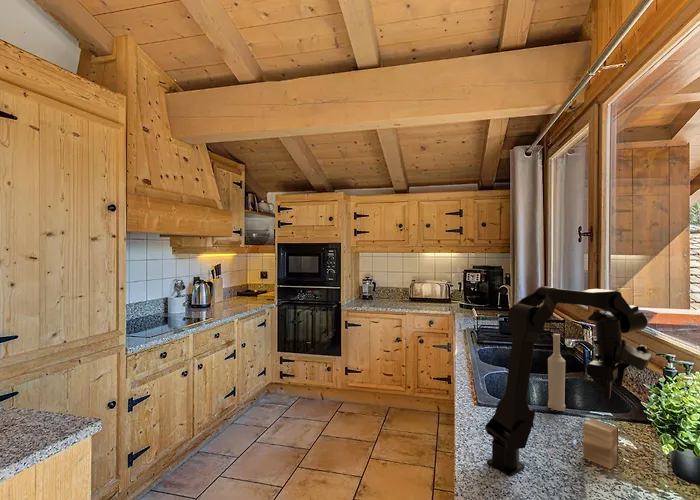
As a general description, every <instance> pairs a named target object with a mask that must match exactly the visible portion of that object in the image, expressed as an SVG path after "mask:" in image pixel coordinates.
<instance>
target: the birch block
mask: <svg viewBox="0 0 700 500" xmlns="http://www.w3.org/2000/svg"><path fill="white" fill-rule="evenodd" d="M583 458H584V459H587V460H589V461H591V462H593V463H595V464H598V465H600V466H602V467H605V468H607V469H609V470H610V469H613V468H614V467H615V466H617V465H618V464H619V426H616V425H613V424H610V423H607V422H604V421H602V420H601V421H600V420H598V419H596V418H593V417H591V418H589V419H587V420H586V421H584V422H583Z"/></svg>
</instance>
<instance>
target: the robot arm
mask: <svg viewBox="0 0 700 500" xmlns="http://www.w3.org/2000/svg"><path fill="white" fill-rule="evenodd" d="M542 303H543V304H542ZM558 304H566V305H568V304H569V305H578V306H584V307H586V308H589V309H592V310H597V311H593V313H592V314H591V315H589V317H587V320H588V321H591V322H594V327H595V328H594V329H595V339H594V340H593V344H594V345H596V350H597V351H596V352H597V353H596V354H595V355H594V359H595V360H592V361H591V362H590V363H588V364H587V365H585V366H584V368H585V369H584V370H585V374H586V375H587V376H588V377H590V378H591V379H592V381H593V382H594V383H595V385H596V386H597V388H598V389H599V391H600V393H601V394H602V396H603V398H604V399H606V400H610V399H611V396H612V395H611V394H612V385H613V382H614V384H615V386H616V387H617V388H618V389H621V388H623V387H622V386H623V382H624V379H625V374H626V370H627V368H628V367H630V366H632V367H634V368H635V369H637V370H638V371H644V370H645V369H646V368H647V367H648V366H649V363H650V360H651V359H652V353H650V352H649V349H648V346H646V345H644V344H640V345H639V346H637V347H635V346H630V345H627V340H626V339H625V338H623V337H622V336H623V335H622V334H627V333H632V332H637V331H641V330H644V329H646V327H647V326H648V319H647V318H646V316H645V314H644V313H643V312H642V311H640V310H639V309H640V307H639V306H638V305H629V304H628V302H627V300H625V298H624V297H623V294H622V292H620V291H619V290H613V289H612V290H610V289H604V288H603V289H601V288H590V289H586V290H575V289H574V290H573V289H566V288H565V289H564V288H557V287H554V286H553V287H552V286H545V285H543V286H542V285H541V286H539V287H538V288H537V289H536V290H535V291H533V292H532V293H530V294H528V295H527V296H525V297H523V298H521V299H520V300H519V301H518V302H517V303H516V304H513V306H511V307H510V308H509V310H508V315H507V317H508V323H507V324H508V329H509V332H510V335H511V338H512V340H511V341H512V342H511V350H510V357H509V365H508V371H507V376H506V377H507V378H506V379H507V380H506V387H505V391H504V392H505V393H504V395H503V396H502V398H501V399H500V400H499V401H498V402H497V404H496V408H495V413H494V414H493V416H492V417H490V420H488V422H487V423H486V424H485V426H484V427H485V430H486V433H487V435H489V436H490V437H492V438H493V439H492V440H491V458H489V459H487V460H486V464H487V465H489V466H492V468H495V469H497V470H498V471H500V472H501V473H504V474H505V475H507V476H512V475H514V474H515V473H517V472H520V471H521V470H523V469H525V467H526V466H525V464H524V463H522V462H520V450H521V449H525V448H527V447H526V446H527V443H528V441H529V440H528V439H529V437H530V435H531V431H532V428H534V427H535V426H534V419H535V416H536V410H535V409H533V408H532V407H530V406H529V403H528V392H529V385H530V378H531V370H532V363H533V362H532V361H533V356H534V348H535V343H536V342H537V340H538V339H539V338H540V337H541V335H542V334H543V331H544V329H545V324H546V322H547V321H549V319H550V318H551V317H552V316H553V315H554V312H555V309H556V308H555V307H556V306H557V305H558ZM540 305H541V306H540ZM538 306H539V307H538ZM598 311H599V312H598ZM600 311H602V312H600ZM599 360H600V361H599Z"/></svg>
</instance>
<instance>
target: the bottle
mask: <svg viewBox="0 0 700 500" xmlns="http://www.w3.org/2000/svg"><path fill="white" fill-rule="evenodd" d="M552 342H553V343H552V344H553V346H552V347H553V349H552V352H553V353H552V354H551V355H550V356H549V357H548V358H547V377H548V378H547V379H548V382H547V383H548V385H547V387H548V401H547V407H548V409H549V408H553V409H550V410H551V411H553V410H557V411H563V412H565V410H566V404H565V397H566V396H565V393H566V391H565V389H566V388H565V387H566V360H565V358H564V357H562V354H561V334H560V333H553V334H552ZM557 411H556V412H557Z"/></svg>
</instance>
